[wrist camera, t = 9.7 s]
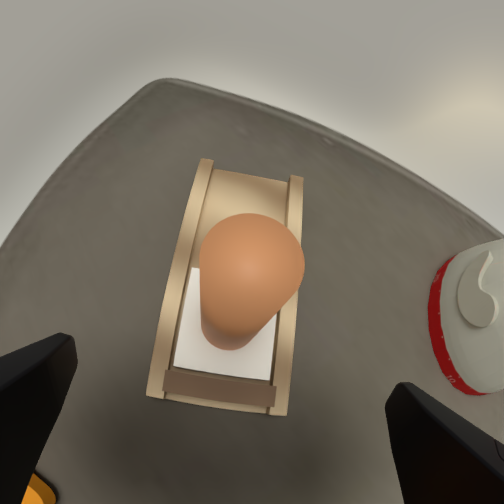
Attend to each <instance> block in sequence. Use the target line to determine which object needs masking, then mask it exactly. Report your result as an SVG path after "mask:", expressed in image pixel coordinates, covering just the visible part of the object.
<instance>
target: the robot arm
mask: <svg viewBox="0 0 504 504" xmlns="http://www.w3.org/2000/svg"><path fill="white" fill-rule="evenodd" d="M77 364H78V359H77V353H76V347H75V341H74V338H73V337H72V336H70V335H67V334H64V333H57V334H54V335H52V336H50V337H47V338H45V339H42V340H40V341H38V342H35V343H33V344H30V345H28V346H25V347H23V348H21V349H18V350H16V351H13V352H11V353H9V354H6V355H4V356H1V357H0V504H21V503H22V501H23V498H24V495H25V492H26V490H27V487H28V485H29V482H30V479H31V477H32V474H33V472H34V470H35V467H36V465H37V462H38V460H39V458H40V455H41V453H42V451H43V448H44V446H45V444H46V442H47V440H48V437H49V435H50V433H51V431H52V429H53V427H54V424H55V422H56V420H57V418H58V416H59V414H60V411H61V409H62V406H63V404H64V401H65V398H66V395H67V392H68V389H69V387H70V384H71V381H72V379H73V376H74V374H75V371H76V368H77ZM385 413H386V418H387V424H388V430H389V437H390V443H391V449H392V454H393V458H394V462H395V466H396V470H397V474H398V478H399V482H400V487H401V491H402V496H403V500H404V504H504V445H503V444H502V443H500V442H499V441H497V440H496V439H494V438H493V437H491V436H490V435H488V434H487V433H485V432H484V431H482V430H481V429H479V428H478V427H476V426H475V425H473V424H472V423H470V422H469V421H467V420H466V419H464V418H463V417H461V416H460V415H458V414H457V413H455V412H454V411H452V410H451V409H449V408H448V407H446V406H445V405H443V404H442V403H440V402H439V401H437V400H436V399H435V398H433V397H432V396H430V395H429V394H427V393H426V392H424V391H423V390H421V389H420V388H418V387H417V386H415V385H414V384H413V383H410V382H400V383H398V384H397V385H396V386H395V388H394V390H393V391H392V393H391V395H390V396H389V398H388V400H387V401H386V404H385Z"/></svg>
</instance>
